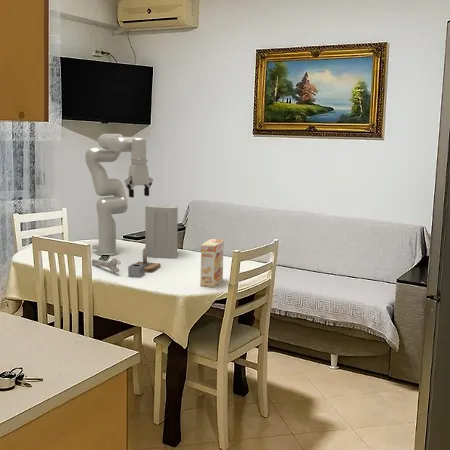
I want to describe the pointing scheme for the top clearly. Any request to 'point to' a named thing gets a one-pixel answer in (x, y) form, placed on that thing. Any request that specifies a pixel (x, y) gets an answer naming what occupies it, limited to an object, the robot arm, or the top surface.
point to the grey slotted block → (136, 270)
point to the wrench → (108, 264)
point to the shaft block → (148, 266)
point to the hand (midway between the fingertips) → (139, 196)
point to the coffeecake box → (211, 262)
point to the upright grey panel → (161, 230)
